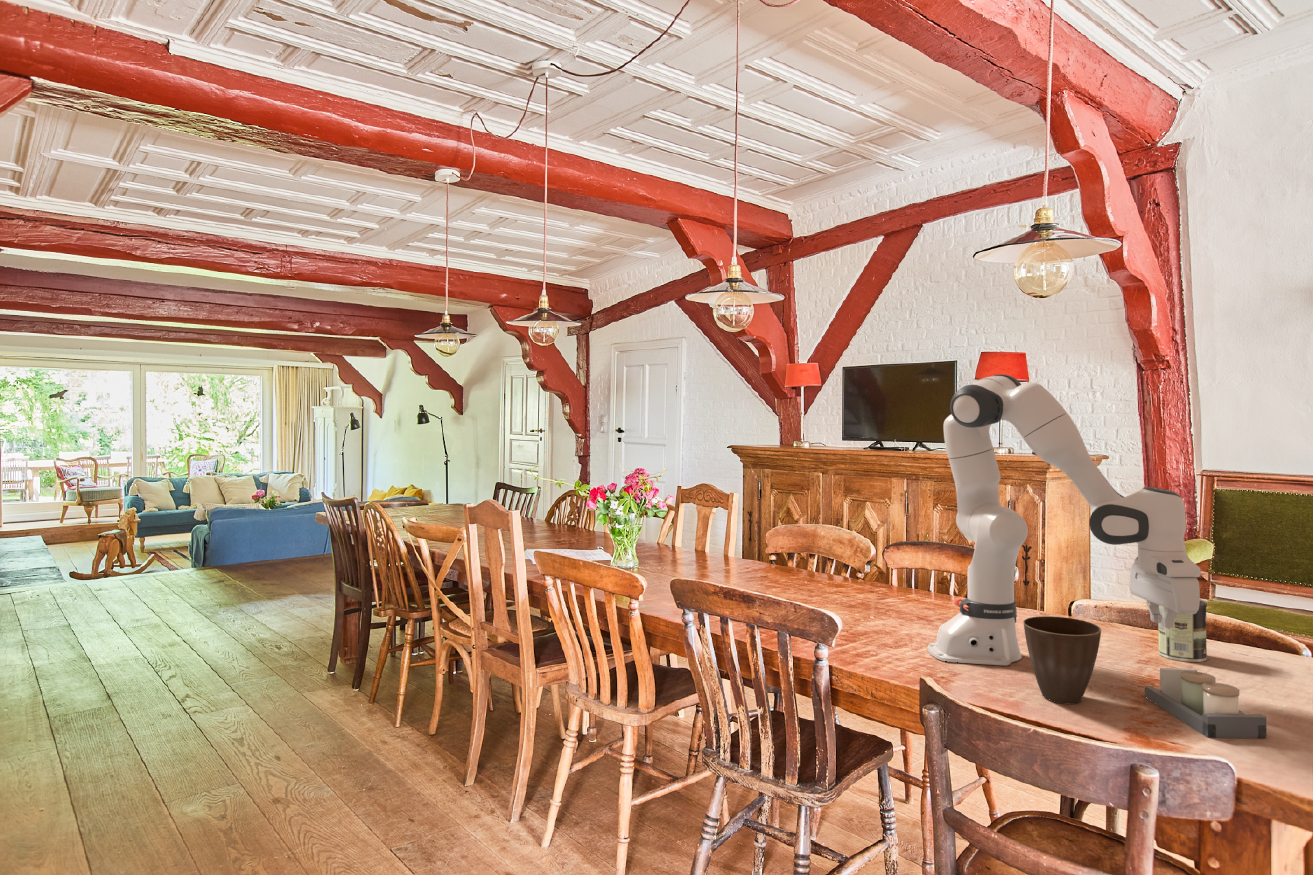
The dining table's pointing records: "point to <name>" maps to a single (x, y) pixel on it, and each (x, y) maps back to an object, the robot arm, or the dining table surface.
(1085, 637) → the plant pot
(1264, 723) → the tray
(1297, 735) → the dining table surface
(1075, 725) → the dining table surface
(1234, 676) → the dining table surface
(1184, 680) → the sage jar
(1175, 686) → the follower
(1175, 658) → the coffee can
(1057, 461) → the robot arm
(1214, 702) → the cream jar
